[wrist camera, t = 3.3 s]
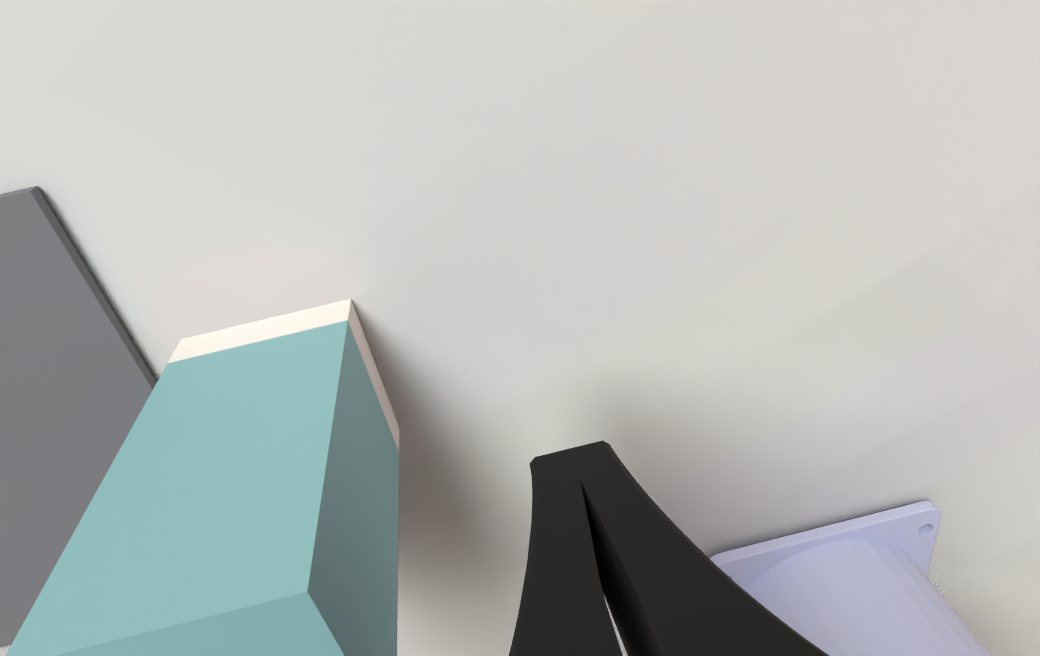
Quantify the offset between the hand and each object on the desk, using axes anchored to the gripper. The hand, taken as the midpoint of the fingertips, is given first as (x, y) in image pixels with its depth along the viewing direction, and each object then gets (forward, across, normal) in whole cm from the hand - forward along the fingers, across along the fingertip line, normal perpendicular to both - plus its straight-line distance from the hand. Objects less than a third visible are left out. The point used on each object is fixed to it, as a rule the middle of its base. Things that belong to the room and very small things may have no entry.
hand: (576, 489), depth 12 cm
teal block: (+6, +6, 0) cm, 8 cm away
